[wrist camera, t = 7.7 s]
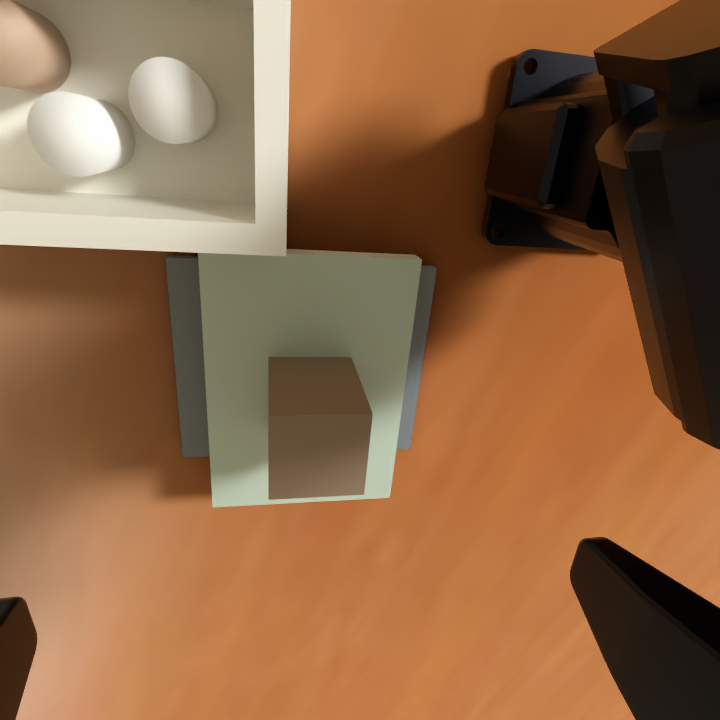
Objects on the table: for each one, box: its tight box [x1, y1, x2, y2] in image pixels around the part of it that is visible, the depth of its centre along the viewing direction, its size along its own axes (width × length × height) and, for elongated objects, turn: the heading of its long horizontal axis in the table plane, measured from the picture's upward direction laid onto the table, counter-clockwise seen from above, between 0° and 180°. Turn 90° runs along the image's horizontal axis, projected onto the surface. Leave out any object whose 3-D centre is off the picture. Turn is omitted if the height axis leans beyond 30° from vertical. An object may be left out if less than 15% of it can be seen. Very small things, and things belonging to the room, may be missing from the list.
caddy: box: [0, 0, 291, 256], centre depth 13 cm, size 10×7×5 cm
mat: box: [165, 255, 437, 458], centre depth 20 cm, size 10×8×1 cm
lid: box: [198, 249, 422, 507], centre depth 17 cm, size 10×7×6 cm
